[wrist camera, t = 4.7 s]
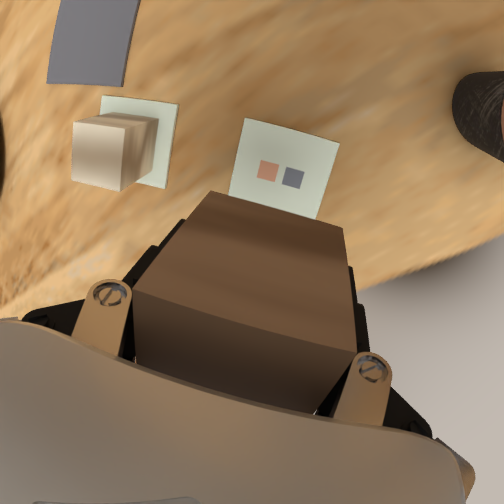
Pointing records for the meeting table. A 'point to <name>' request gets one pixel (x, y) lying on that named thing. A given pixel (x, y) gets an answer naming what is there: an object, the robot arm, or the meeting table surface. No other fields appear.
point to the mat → (92, 42)
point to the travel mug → (481, 111)
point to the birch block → (113, 149)
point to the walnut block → (249, 304)
